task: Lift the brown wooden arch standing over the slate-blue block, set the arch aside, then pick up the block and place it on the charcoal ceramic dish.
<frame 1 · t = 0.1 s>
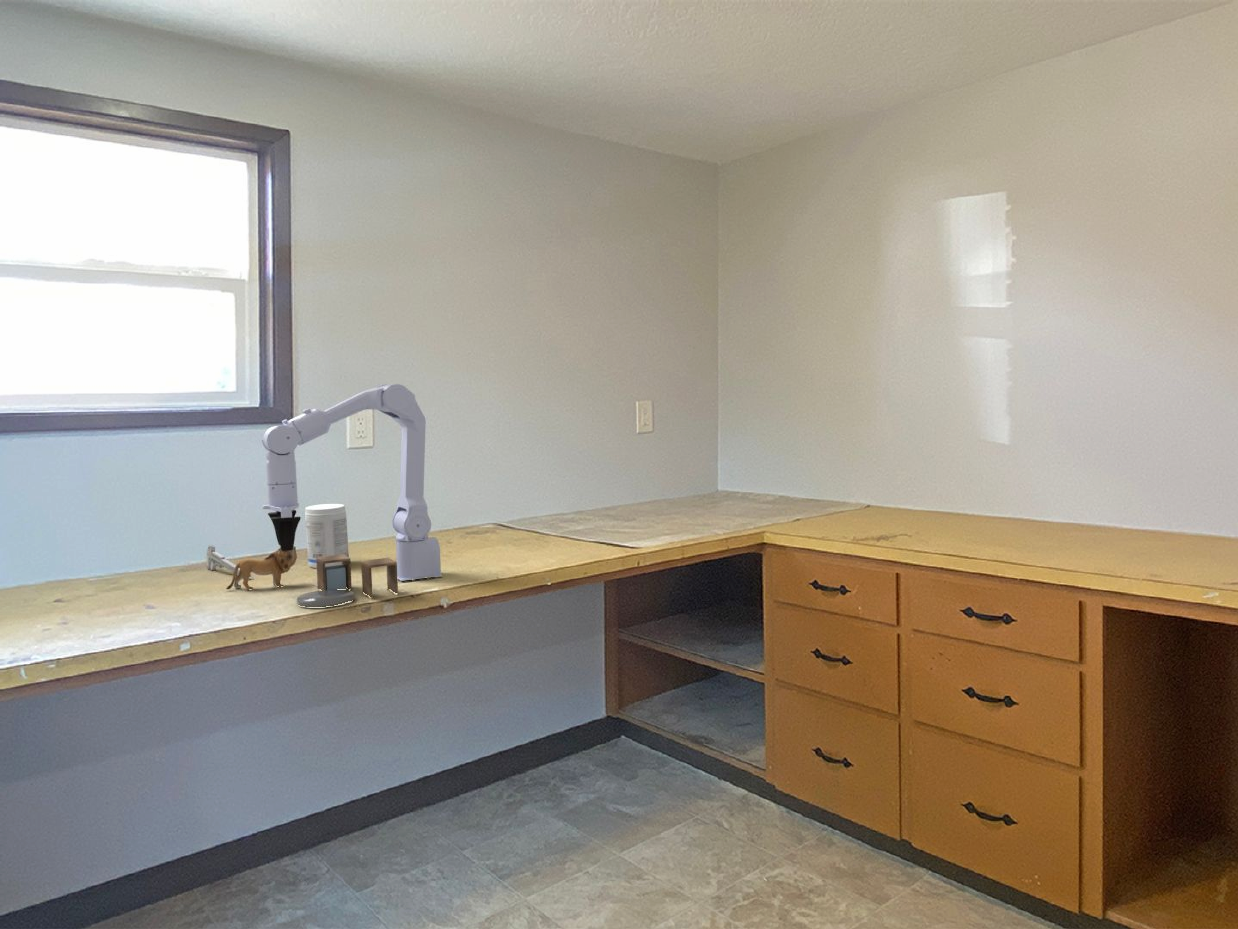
hand: (285, 547, 179), 10 cm above the worktop, tool pointing down, fingers open, 7 cm apart
dish: (326, 601, 172), on the worktop
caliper: (229, 576, 200), on the worktop
supplement tub: (328, 566, 209), on the worktop
lion figurine: (265, 587, 187), on the worktop
brown wooden arch: (334, 589, 183), on the worktop
empty cover: (380, 594, 178), on the worktop
block: (334, 590, 183), on the worktop
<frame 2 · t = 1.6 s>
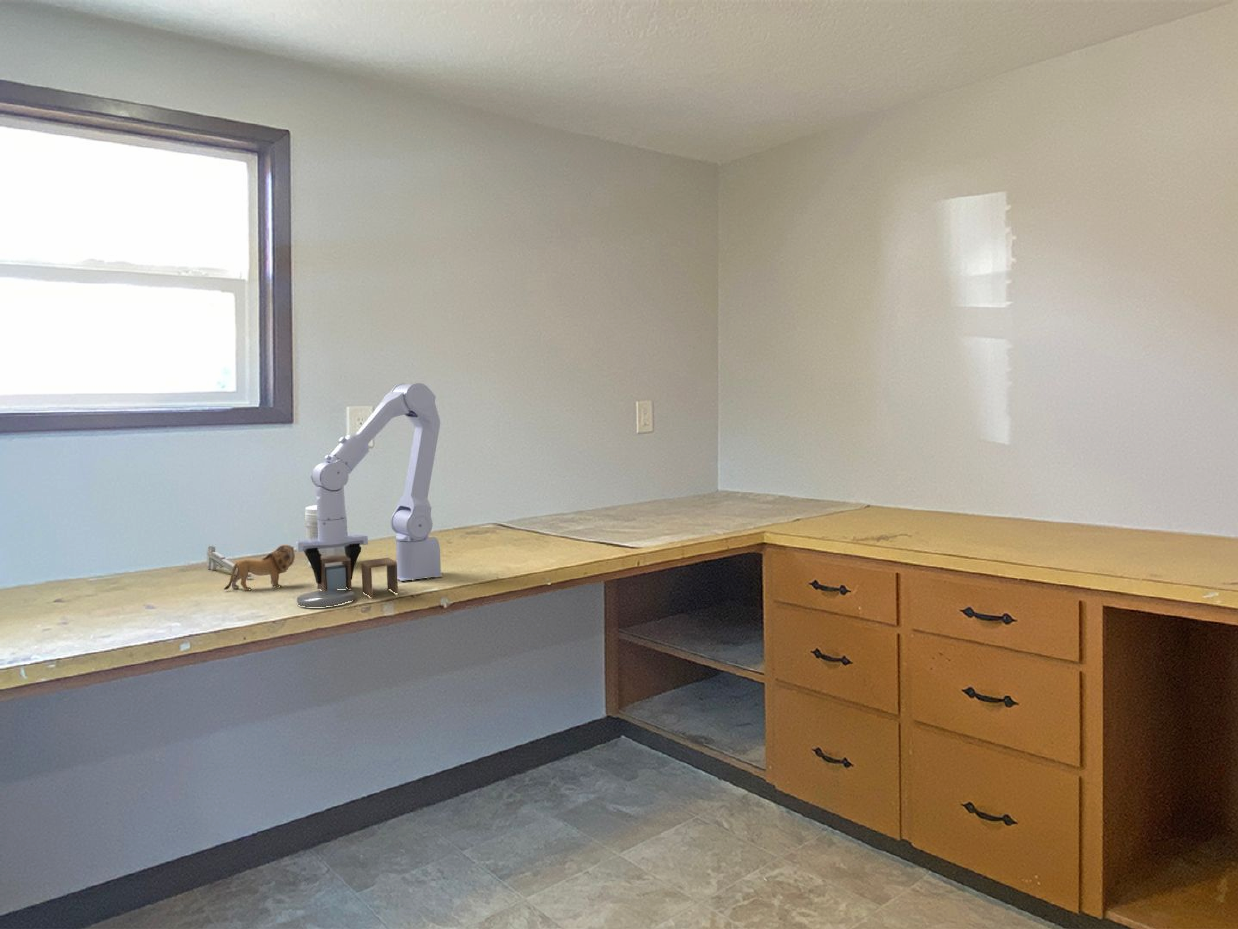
hand: (334, 581, 182), 2 cm above the worktop, tool pointing down, fingers closed on brown wooden arch, 6 cm apart
brown wooden arch: (334, 589, 183), on the worktop, touching gripper
when the fingers open (3 cm above the worktop, at t = 4.7 s): brown wooden arch stays where it is, on the worktop.
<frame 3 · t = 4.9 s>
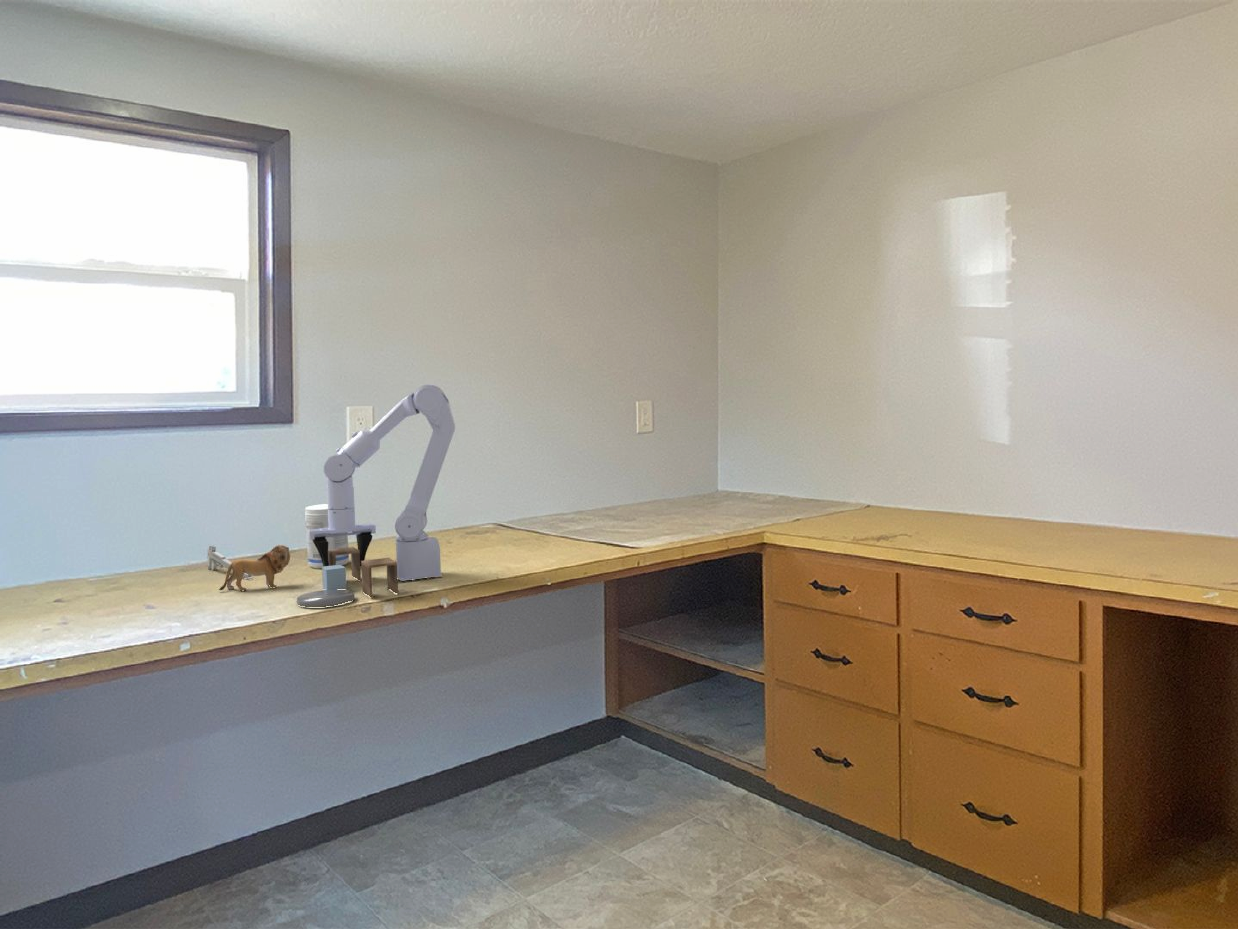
hand: (343, 567, 191), 3 cm above the worktop, tool pointing down, fingers open, 7 cm apart
brown wooden arch: (344, 580, 191), on the worktop
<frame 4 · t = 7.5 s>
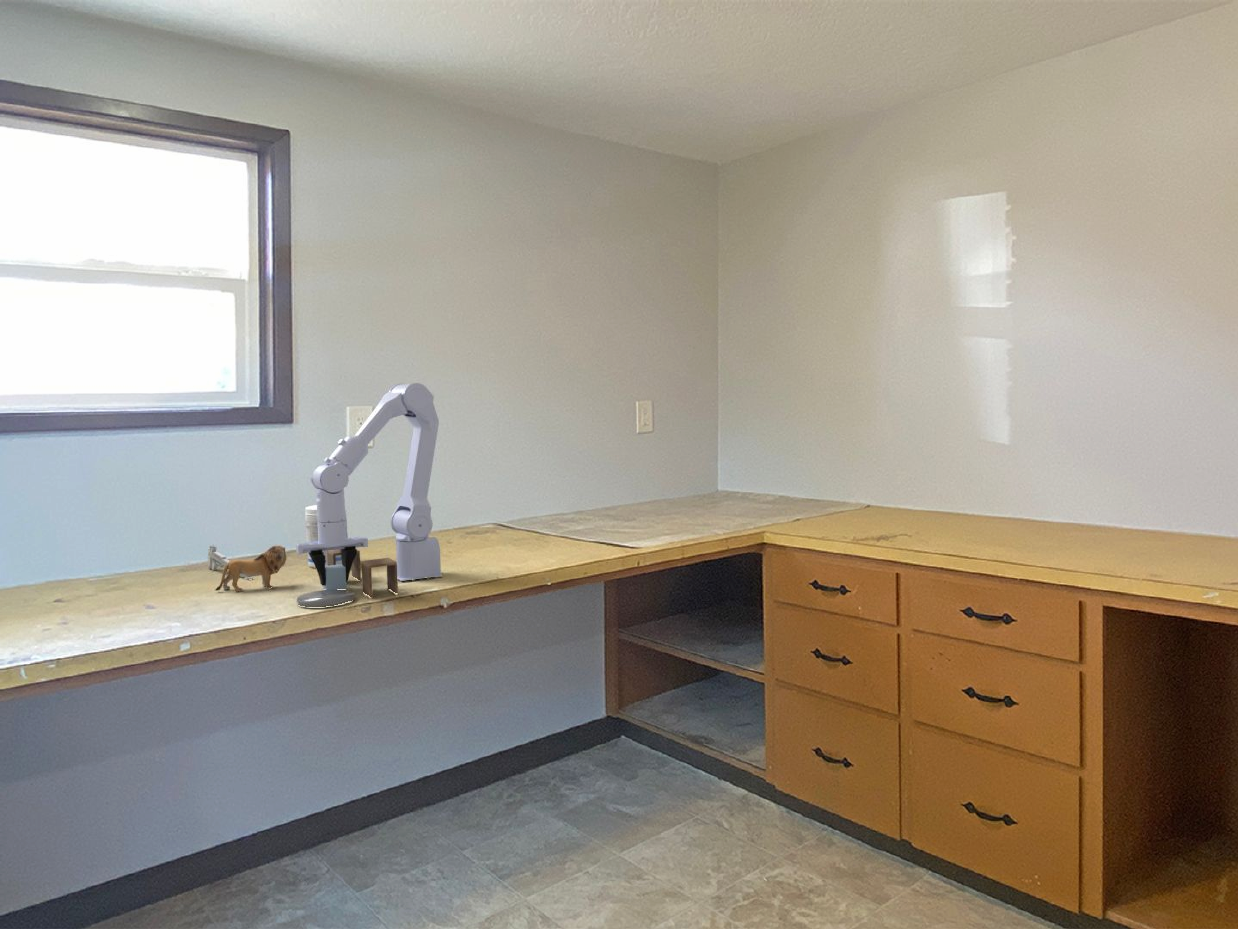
hand: (334, 583, 182), 1 cm above the worktop, tool pointing down, fingers closed on block, 4 cm apart
block: (334, 589, 183), on the worktop, touching gripper
when the fingers open (3 cm above the worktop, at t = 10.5 s): block stays where it is, resting on dish.
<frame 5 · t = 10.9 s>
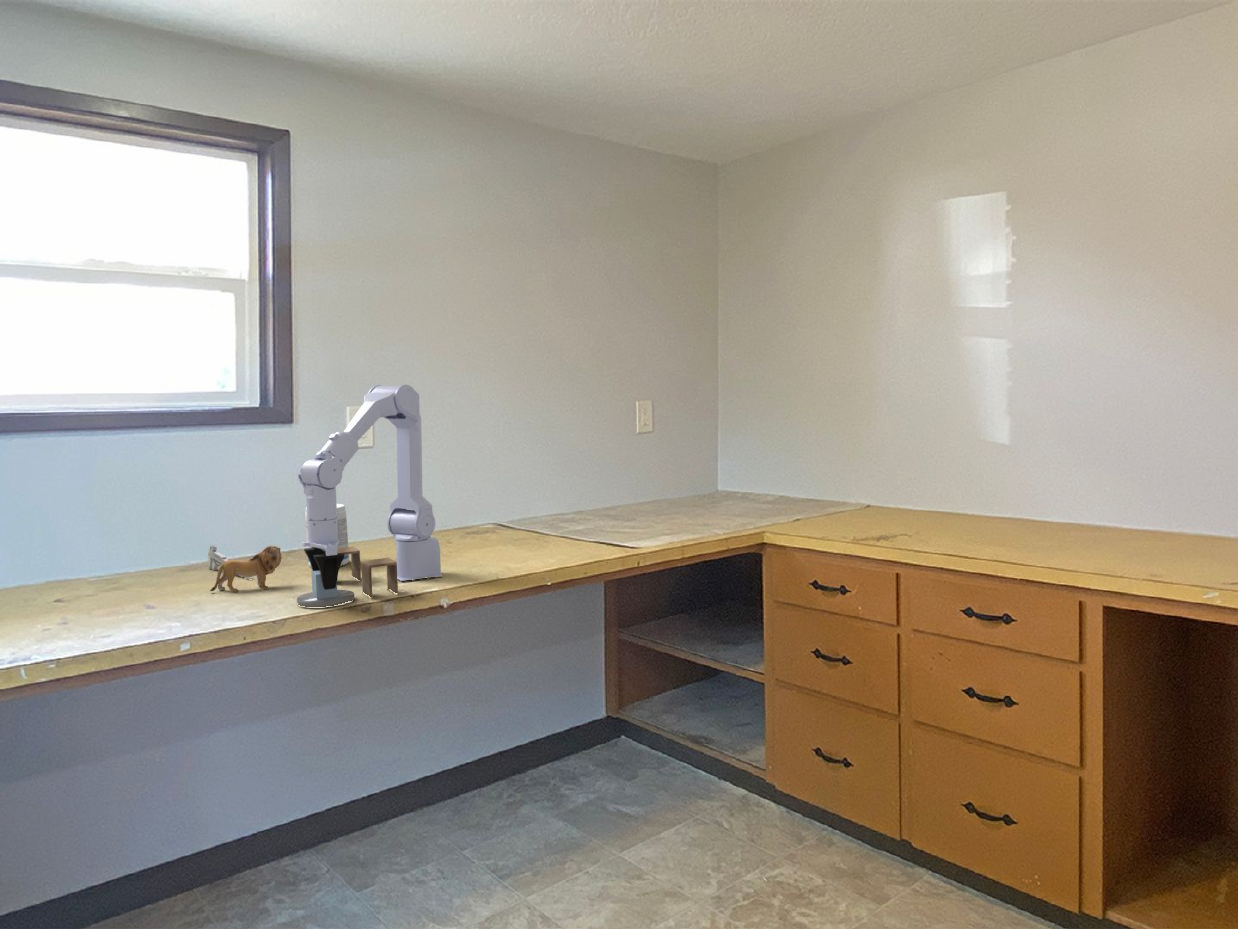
hand: (325, 585, 172), 3 cm above the worktop, tool pointing down, fingers open, 7 cm apart
block: (324, 596, 172), point 1 cm above the worktop, touching dish
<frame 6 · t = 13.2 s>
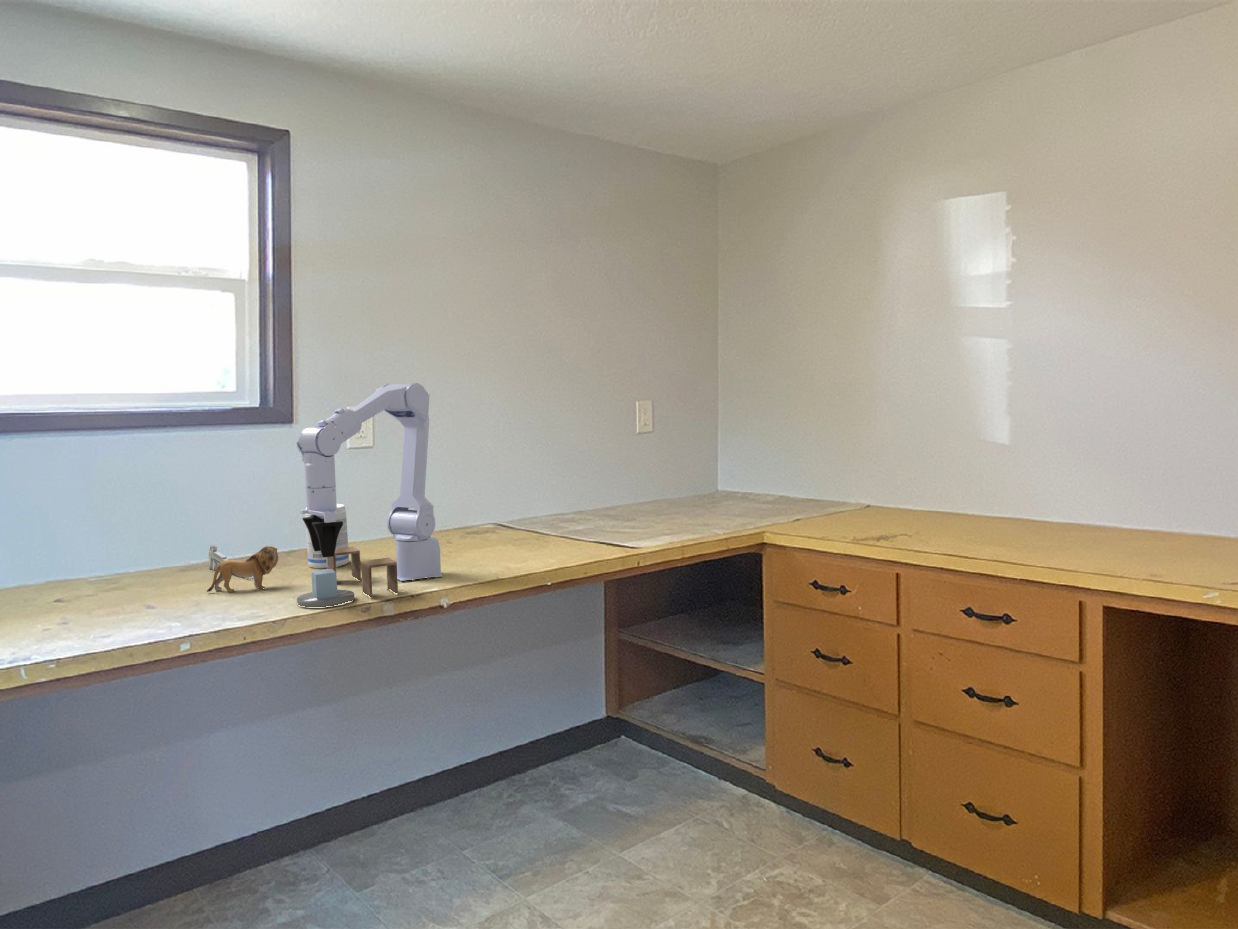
hand: (323, 553, 171), 10 cm above the worktop, tool pointing down, fingers open, 7 cm apart
at the end: block inside the target area on the dish (0.2 cm from its centre), point 1.2 cm above the dish's base; block tilted 0°; brown wooden arch moved 8.8 cm from its start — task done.
